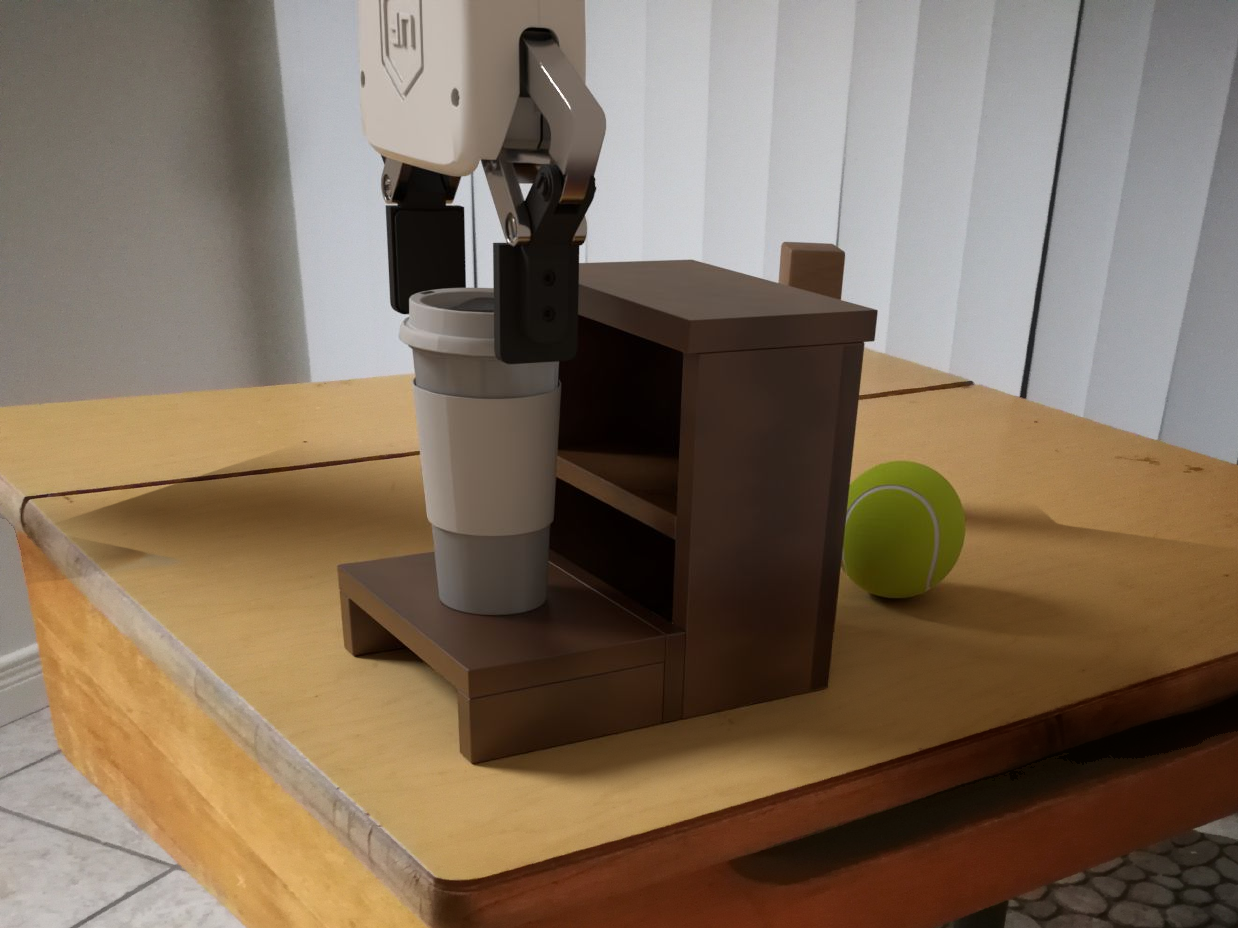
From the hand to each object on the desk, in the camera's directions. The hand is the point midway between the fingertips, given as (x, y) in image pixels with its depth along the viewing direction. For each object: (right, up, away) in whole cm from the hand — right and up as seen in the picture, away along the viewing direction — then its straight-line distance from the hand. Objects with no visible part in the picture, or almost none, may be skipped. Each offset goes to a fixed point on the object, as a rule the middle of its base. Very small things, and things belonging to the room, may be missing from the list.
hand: (479, 335), depth 57 cm
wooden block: (+14, +5, +36) cm, 39 cm away
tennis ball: (+19, -5, +21) cm, 29 cm away
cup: (0, -9, +6) cm, 11 cm away
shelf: (+3, -11, +10) cm, 15 cm away
